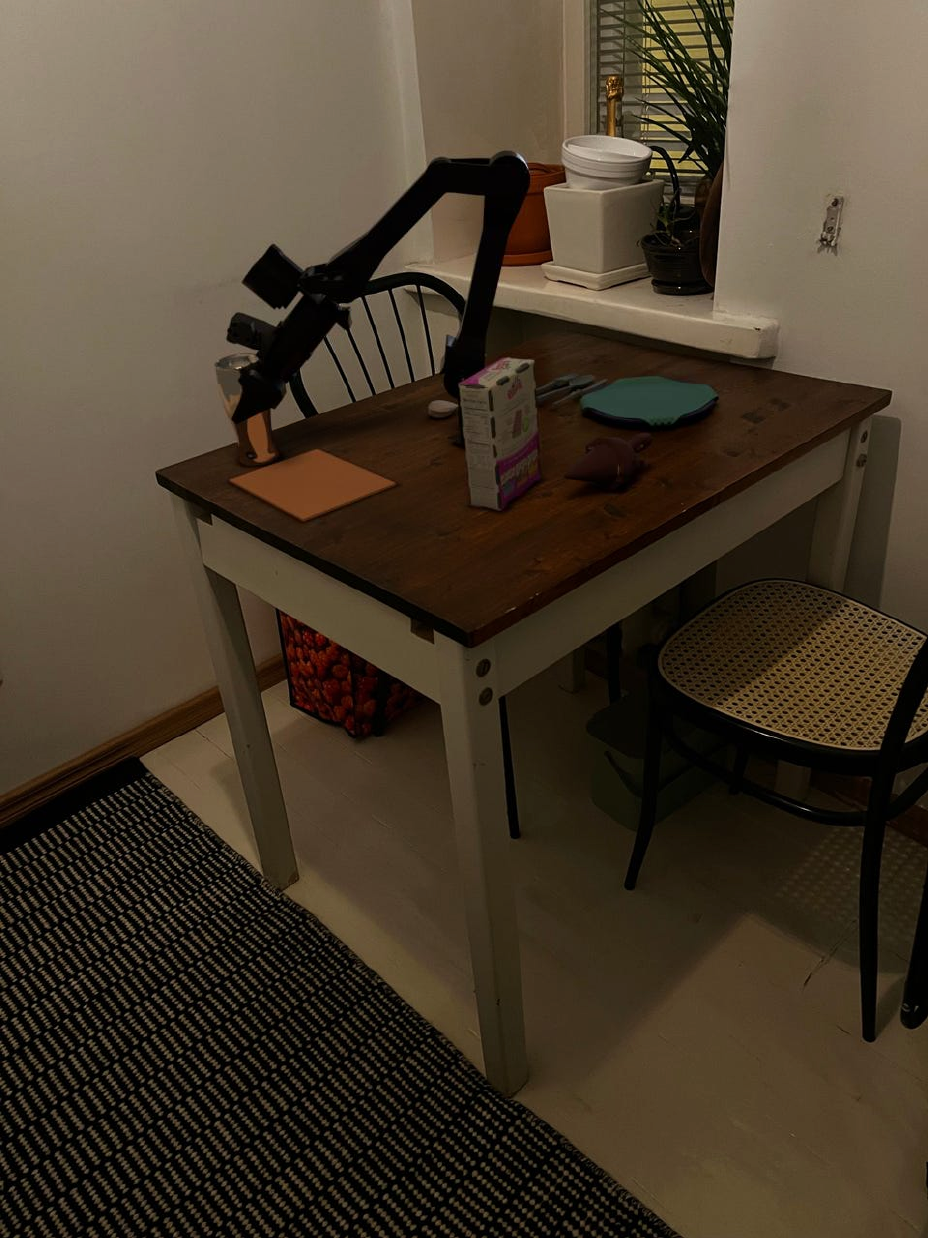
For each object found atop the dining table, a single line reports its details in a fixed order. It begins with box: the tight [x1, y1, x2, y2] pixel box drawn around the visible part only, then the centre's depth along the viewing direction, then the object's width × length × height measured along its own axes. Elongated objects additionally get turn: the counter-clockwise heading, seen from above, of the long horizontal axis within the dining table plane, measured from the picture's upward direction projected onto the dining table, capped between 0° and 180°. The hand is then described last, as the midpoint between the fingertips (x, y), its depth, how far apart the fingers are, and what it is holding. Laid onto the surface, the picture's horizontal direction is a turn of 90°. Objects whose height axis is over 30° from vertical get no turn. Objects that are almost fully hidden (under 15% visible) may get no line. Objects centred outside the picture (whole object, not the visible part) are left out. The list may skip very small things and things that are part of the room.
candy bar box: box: [458, 356, 542, 512], centre depth 122 cm, size 11×5×16 cm, turn 148°
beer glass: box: [214, 352, 281, 467], centre depth 139 cm, size 7×7×15 cm
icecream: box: [562, 432, 654, 492], centre depth 123 cm, size 7×7×15 cm
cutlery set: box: [536, 372, 720, 428], centre depth 151 cm, size 20×30×2 cm, turn 46°
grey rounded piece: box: [427, 399, 459, 419], centre depth 153 cm, size 4×5×2 cm
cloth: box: [228, 448, 397, 523], centre depth 134 cm, size 20×15×1 cm
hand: (239, 412), depth 140 cm, fingers closed on beer glass, 7 cm apart
